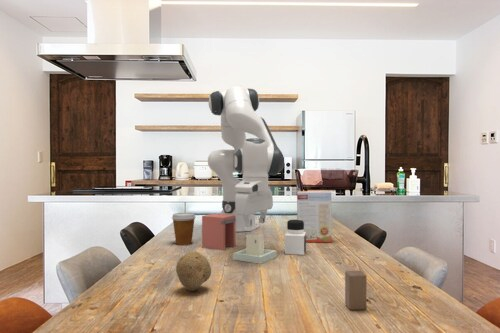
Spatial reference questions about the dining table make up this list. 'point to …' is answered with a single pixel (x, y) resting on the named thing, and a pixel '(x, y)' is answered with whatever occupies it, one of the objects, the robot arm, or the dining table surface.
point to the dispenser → (218, 231)
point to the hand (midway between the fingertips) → (255, 225)
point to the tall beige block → (255, 244)
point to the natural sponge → (193, 270)
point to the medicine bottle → (295, 238)
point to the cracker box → (315, 214)
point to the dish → (254, 256)
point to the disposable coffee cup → (183, 227)
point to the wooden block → (355, 290)
